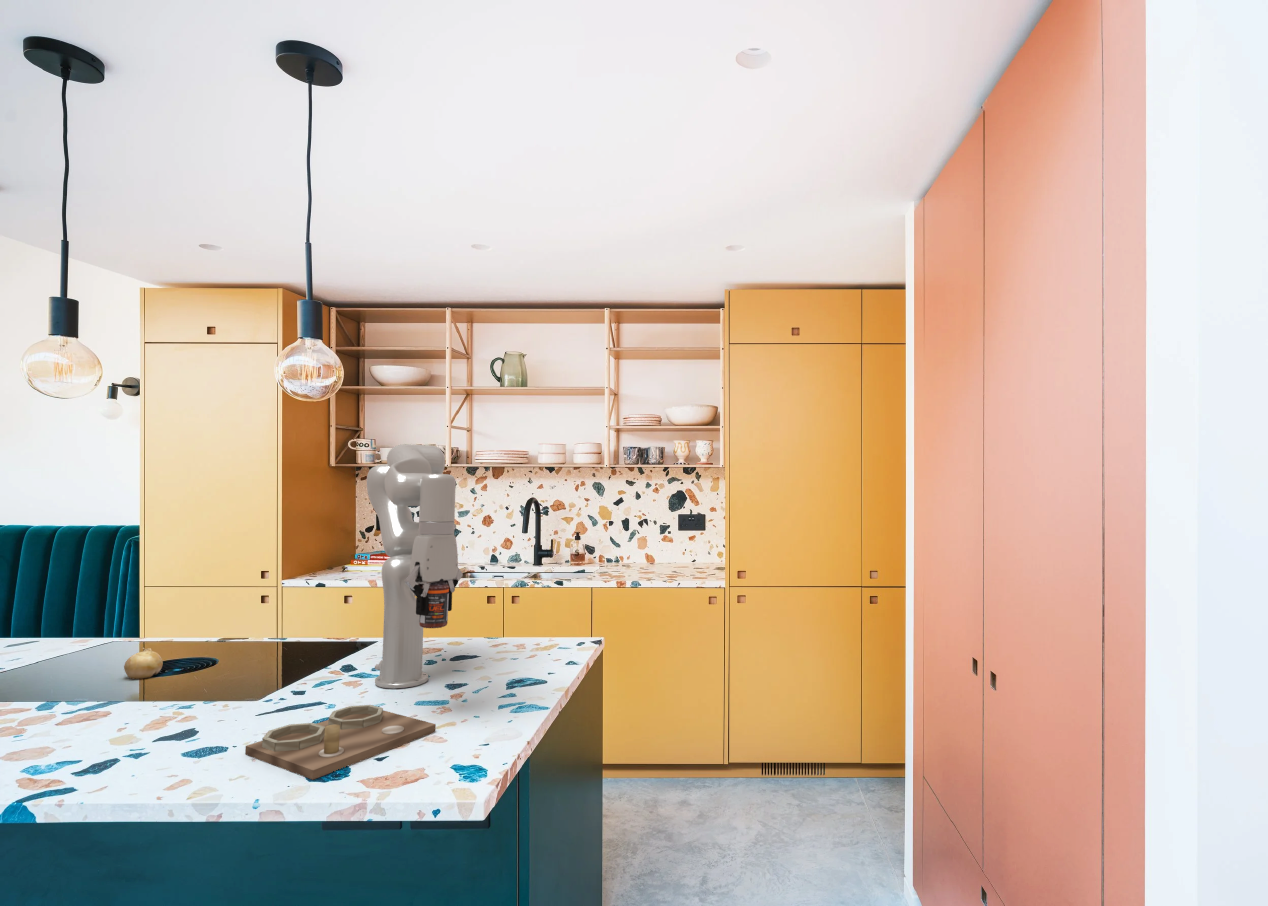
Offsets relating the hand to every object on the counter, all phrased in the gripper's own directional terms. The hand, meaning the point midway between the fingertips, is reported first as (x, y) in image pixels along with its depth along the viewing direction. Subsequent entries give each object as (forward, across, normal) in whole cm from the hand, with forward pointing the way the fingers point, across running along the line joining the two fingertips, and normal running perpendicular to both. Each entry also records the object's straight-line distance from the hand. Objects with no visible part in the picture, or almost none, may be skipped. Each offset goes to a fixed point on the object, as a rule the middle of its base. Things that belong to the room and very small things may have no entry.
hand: (434, 611), depth 143 cm
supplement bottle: (+3, 0, 0) cm, 3 cm away
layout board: (+21, +21, 0) cm, 30 cm away
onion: (+22, +20, -83) cm, 88 cm away
